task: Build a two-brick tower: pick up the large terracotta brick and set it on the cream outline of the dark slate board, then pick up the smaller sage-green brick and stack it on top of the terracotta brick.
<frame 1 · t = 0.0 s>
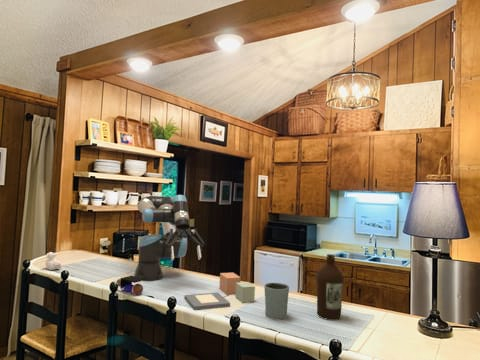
hand: (186, 259, 169), 15 cm above the breakfast bar, tool tilted 35°, fingers open, 13 cm apart
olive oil: (328, 316, 141), on the breakfast bar
sage brick: (244, 299, 158), on the breakfast bar
duck figurine: (52, 269, 199), on the breakfast bar
terracotta brick: (229, 291, 170), on the breakfast bar
kendama: (328, 303, 158), on the breakfast bar
slate board: (206, 302, 152), on the breakfast bar
figurine character: (130, 292, 162), on the breakfast bar
grey cup: (275, 315, 139), on the breakfast bar
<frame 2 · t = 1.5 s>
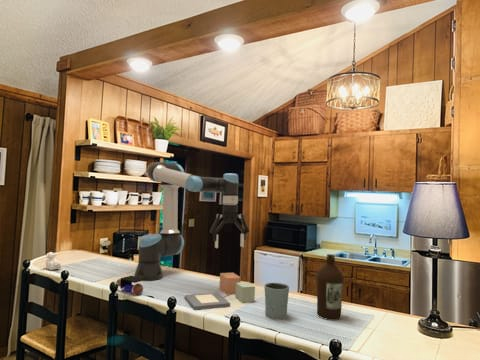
hand: (229, 247, 170), 22 cm above the breakfast bar, tool pointing down, fingers open, 13 cm apart
nothing on the breakfast bar moved.
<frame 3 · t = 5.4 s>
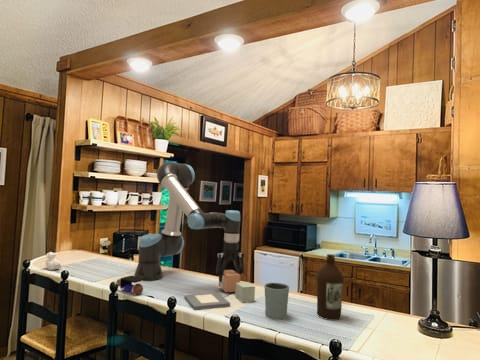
hand: (229, 287, 170), 2 cm above the breakfast bar, tool pointing down, fingers closed on terracotta brick, 7 cm apart
terracotta brick: (228, 288, 170), point 1 cm above the breakfast bar, touching gripper
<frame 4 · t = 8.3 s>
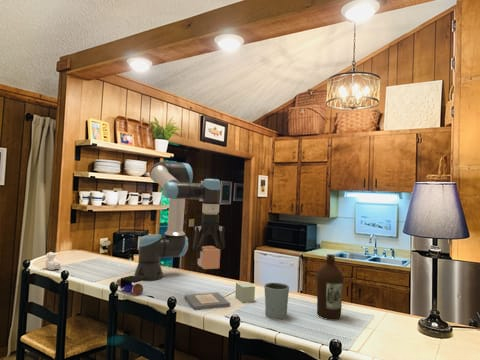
hand: (208, 265, 152), 16 cm above the breakfast bar, tool pointing down, fingers closed on terracotta brick, 7 cm apart
terracotta brick: (208, 266, 152), point 16 cm above the breakfast bar, touching gripper
everything else where it was.
when the fingers open (3 cm above the breakfast bar, at t = 11.0 s): terracotta brick stays where it is, resting on slate board.
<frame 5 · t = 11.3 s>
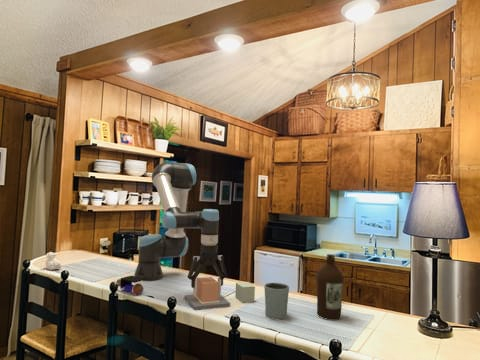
hand: (206, 294, 152), 4 cm above the breakfast bar, tool pointing down, fingers open, 10 cm apart
terracotta brick: (206, 298, 152), point 2 cm above the breakfast bar, touching slate board
everything else where it was.
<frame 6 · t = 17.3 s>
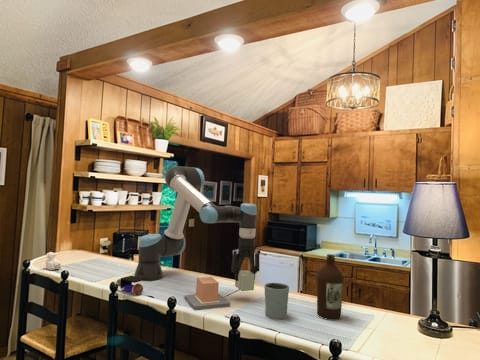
hand: (244, 287, 158), 6 cm above the breakfast bar, tool pointing down, fingers closed on sage brick, 6 cm apart
sage brick: (244, 288, 159), point 5 cm above the breakfast bar, touching gripper
when the fingers open (10 cm above the breakfast bar, at t = 21.4 s): sage brick stays where it is, resting on terracotta brick.
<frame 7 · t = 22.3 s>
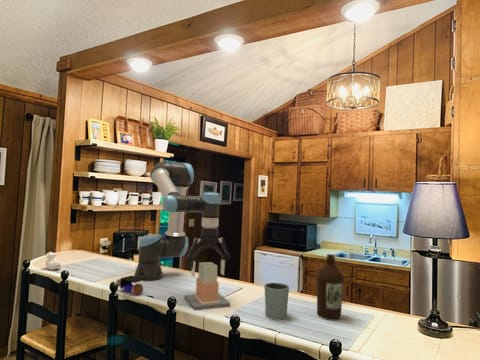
hand: (207, 275, 152), 12 cm above the breakfast bar, tool pointing down, fingers open, 13 cm apart
sage brick: (207, 280, 152), point 10 cm above the breakfast bar, touching terracotta brick
terracotta brick: (206, 298, 152), point 2 cm above the breakfast bar, touching sage brick, slate board
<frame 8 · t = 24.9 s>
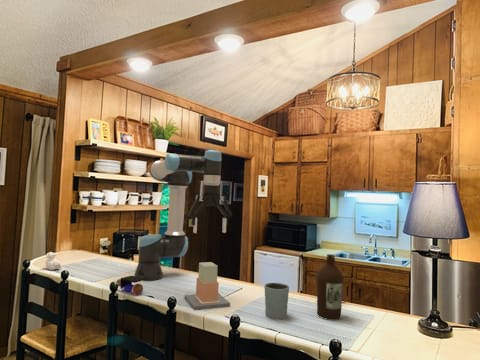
hand: (209, 232, 153), 31 cm above the breakfast bar, tool pointing down, fingers open, 13 cm apart
at the end: terracotta brick inside the target area on the slate board (0.2 cm from its centre), point 1.7 cm above the slate board's base; sage brick inside the target area on the terracotta brick (0.0 cm from its centre), point 8.0 cm above the terracotta brick's base; sage brick tilted 0° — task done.
